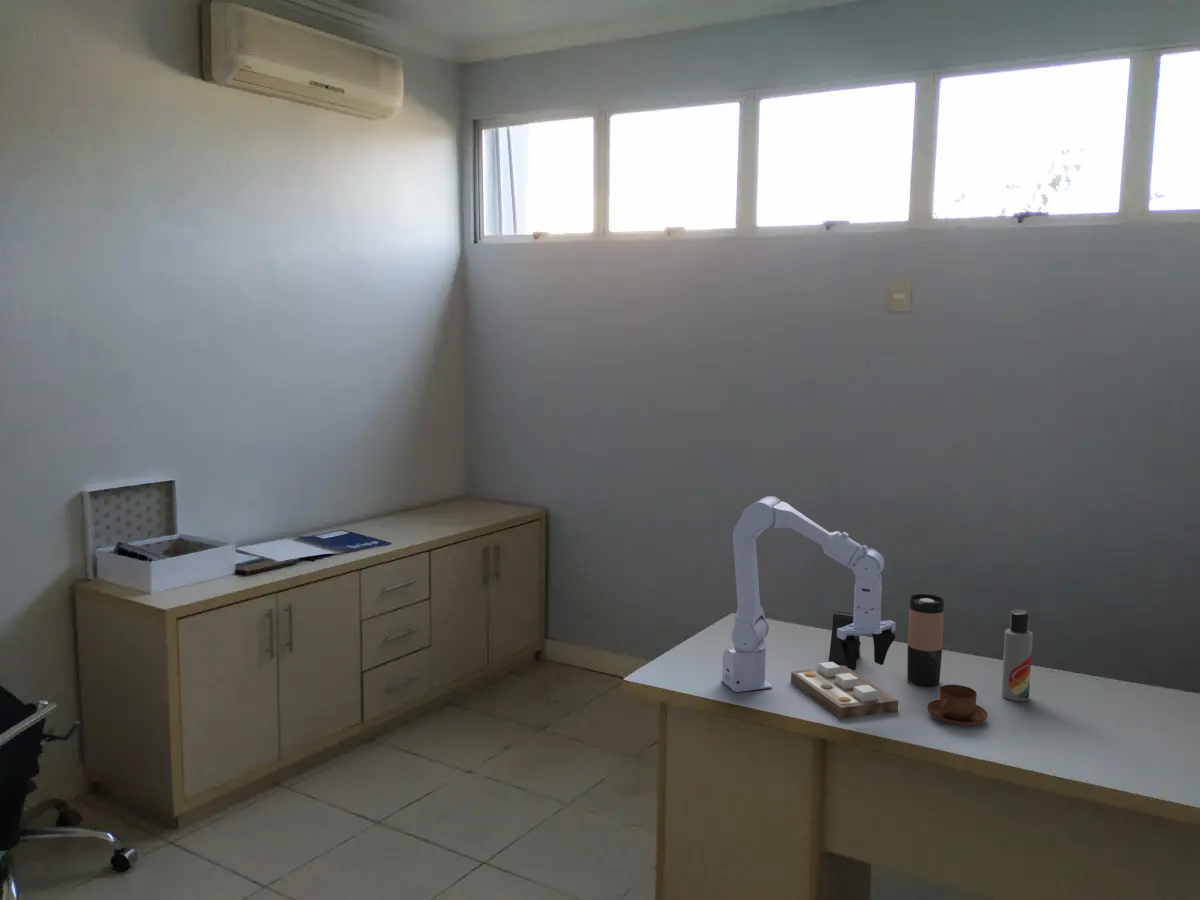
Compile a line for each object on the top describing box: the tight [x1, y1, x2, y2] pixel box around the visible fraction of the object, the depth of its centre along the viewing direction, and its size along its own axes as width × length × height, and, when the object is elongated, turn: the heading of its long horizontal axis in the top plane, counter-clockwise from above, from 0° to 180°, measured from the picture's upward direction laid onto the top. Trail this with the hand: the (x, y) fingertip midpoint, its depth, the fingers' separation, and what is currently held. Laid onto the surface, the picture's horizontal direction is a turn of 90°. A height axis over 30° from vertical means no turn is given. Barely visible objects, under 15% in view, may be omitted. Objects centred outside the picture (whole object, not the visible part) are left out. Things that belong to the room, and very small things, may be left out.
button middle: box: [835, 673, 858, 689], centre depth 211 cm, size 4×4×3 cm
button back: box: [818, 661, 841, 677], centre depth 218 cm, size 4×4×3 cm
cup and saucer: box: [926, 684, 988, 727], centre depth 199 cm, size 12×12×6 cm
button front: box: [853, 685, 877, 702], centre depth 204 cm, size 4×4×3 cm
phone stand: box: [828, 610, 861, 667], centre depth 234 cm, size 9×6×12 cm, turn 153°
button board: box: [790, 665, 899, 720], centre depth 211 cm, size 14×22×3 cm, turn 17°
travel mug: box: [906, 593, 945, 688], centre depth 219 cm, size 8×8×20 cm
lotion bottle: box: [1001, 609, 1034, 702], centre depth 210 cm, size 6×6×20 cm
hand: (865, 666), depth 206 cm, fingers open, 7 cm apart
